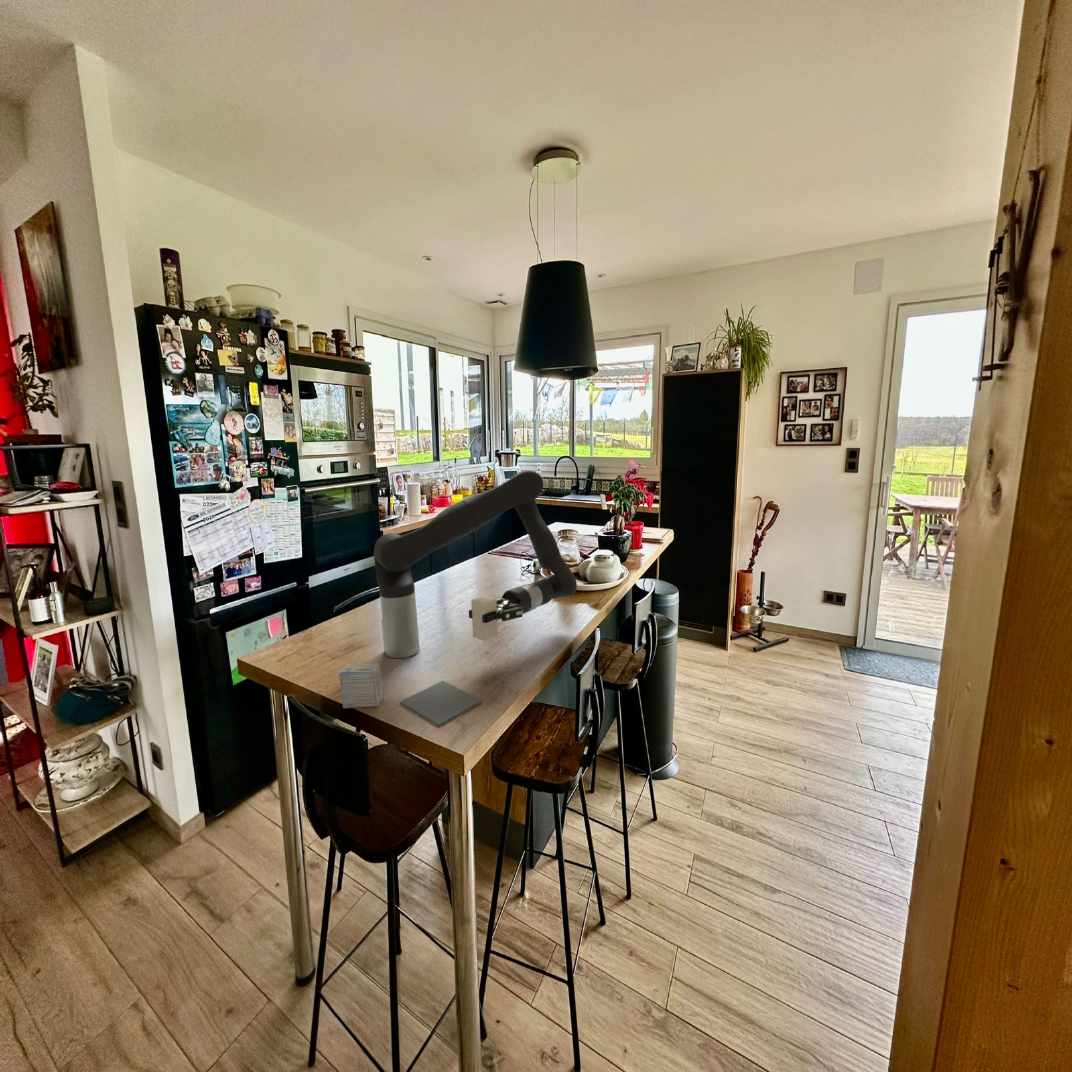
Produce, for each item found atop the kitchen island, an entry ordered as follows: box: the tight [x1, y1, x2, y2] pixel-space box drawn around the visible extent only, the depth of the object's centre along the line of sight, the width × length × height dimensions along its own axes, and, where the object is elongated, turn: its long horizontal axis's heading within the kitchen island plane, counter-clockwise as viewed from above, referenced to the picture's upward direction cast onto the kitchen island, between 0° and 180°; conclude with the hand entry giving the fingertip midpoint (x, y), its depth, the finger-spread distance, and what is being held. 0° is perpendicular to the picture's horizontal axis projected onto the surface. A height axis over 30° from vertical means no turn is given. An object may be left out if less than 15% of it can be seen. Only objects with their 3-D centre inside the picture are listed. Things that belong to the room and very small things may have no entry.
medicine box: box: [338, 662, 384, 709], centre depth 110 cm, size 8×4×9 cm, turn 92°
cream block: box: [470, 595, 499, 642], centre depth 125 cm, size 4×4×10 cm
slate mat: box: [399, 680, 483, 728], centre depth 109 cm, size 14×12×1 cm
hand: (476, 616), depth 123 cm, fingers closed on cream block, 4 cm apart
